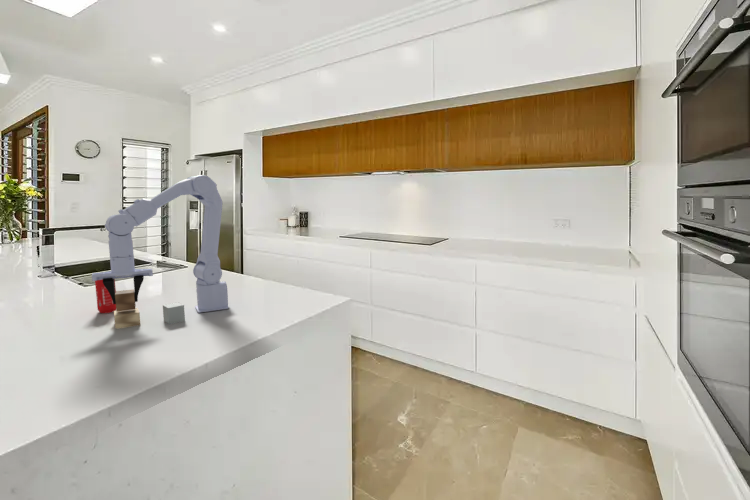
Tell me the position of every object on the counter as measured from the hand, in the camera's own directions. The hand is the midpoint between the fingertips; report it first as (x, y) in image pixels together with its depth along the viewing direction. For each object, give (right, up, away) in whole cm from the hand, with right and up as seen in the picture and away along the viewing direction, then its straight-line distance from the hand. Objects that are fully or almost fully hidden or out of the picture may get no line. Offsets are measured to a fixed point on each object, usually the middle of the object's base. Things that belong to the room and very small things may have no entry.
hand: (125, 302), depth 110 cm
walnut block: (0, -2, 0) cm, 2 cm away
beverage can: (-14, -5, +13) cm, 20 cm away
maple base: (0, -7, +1) cm, 7 cm away
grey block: (+12, -6, +4) cm, 14 cm away
